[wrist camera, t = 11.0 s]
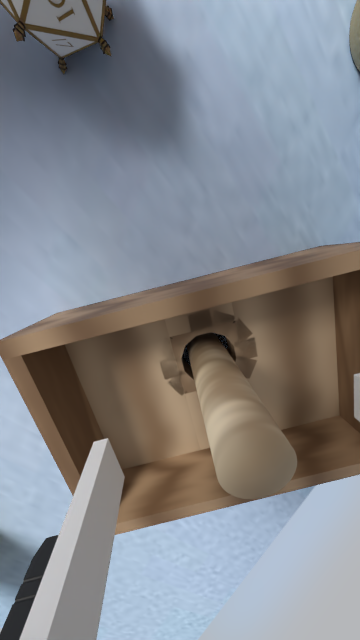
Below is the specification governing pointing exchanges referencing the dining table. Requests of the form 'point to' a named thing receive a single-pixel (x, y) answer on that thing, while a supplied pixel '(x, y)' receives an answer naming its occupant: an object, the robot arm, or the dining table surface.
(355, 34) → the plant pot
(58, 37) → the game die
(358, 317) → the box
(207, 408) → the peg
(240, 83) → the dining table surface
